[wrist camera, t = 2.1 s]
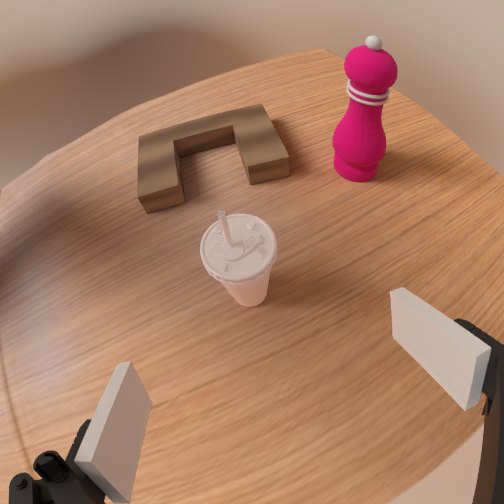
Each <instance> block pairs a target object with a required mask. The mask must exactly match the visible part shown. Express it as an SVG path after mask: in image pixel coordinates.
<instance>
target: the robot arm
mask: <svg viewBox="0 0 504 504" xmlns="http://www.w3.org/2000/svg"><path fill="white" fill-rule="evenodd" d="M390 298H391V313H392V333H393V338H394V339H395V340H396V341H397V342H398V343H399V344H400V345H401V346H402V347H403V348H404V349H405V350H406V351H407V352H408V353H409V354H410V355H411V356H412V357H413V358H414V359H415V360H416V361H417V362H418V363H419V364H420V365H421V366H422V367H423V368H424V369H425V370H426V371H427V372H428V373H429V374H430V375H431V376H432V377H433V378H434V379H435V381H436V382H437V383H438V384H439V385H440V386H441V387H442V388H443V389H444V390H445V391H446V392H447V393H448V394H449V395H450V396H451V397H452V398H453V399H454V400H455V401H456V402H457V403H458V404H459V405H460V406H461V408H462V409H463V410H464V411H466V410H468V409H470V408H471V407H473V406H474V405H476V404H477V403H479V400H480V397H481V393H482V392H483V393H484V394H485V395H486V396H487V399H486V402H485V405H484V409H483V412H482V415H484V414H485V421H484V434H483V444H482V452H481V460H480V467H479V474H478V479H477V484H476V489H475V494H474V499H473V503H472V504H504V345H503V344H501V343H500V342H498V341H497V340H495V339H494V338H492V337H491V336H490V335H488V334H487V333H485V332H484V331H483V332H482V330H481V329H479V328H478V327H477V328H476V326H475V325H473V324H472V323H470V322H469V321H466V320H462V319H459V318H458V319H456V320H454V321H453V320H452V319H450V318H449V317H447V316H446V315H444V314H443V313H441V312H440V311H438V310H437V309H435V308H434V307H432V306H431V305H429V304H428V303H426V302H425V301H423V300H422V299H420V298H419V297H417V296H416V295H414V294H413V293H411V292H410V291H408V290H407V289H405V288H404V287H401V288H398V289H395V290H392V291H390ZM151 406H152V401H151V399H150V397H149V395H148V393H147V392H146V390H145V388H144V386H143V384H142V382H141V380H140V378H139V376H138V374H137V372H136V370H135V368H134V366H133V364H132V362H131V361H129V362H124V363H118V364H117V366H116V368H115V370H114V372H113V375H112V377H111V379H110V381H109V383H108V385H107V387H106V389H105V391H104V394H103V396H102V398H101V400H100V402H99V404H98V407H97V409H96V411H95V413H94V415H93V418H92V419H89V420H86V421H85V423H84V424H83V425H82V426H81V427H80V429H79V431H78V433H77V437H76V438H75V440H74V444H72V446H71V449H70V451H69V453H68V456H67V458H66V460H65V461H64V460H63V458H62V457H61V456H60V455H59V454H58V453H57V452H56V451H46V452H43V453H42V454H40V455H39V456H38V457H37V458H36V459H35V462H34V464H33V469H34V470H35V471H36V472H37V473H38V474H39V475H40V476H41V478H42V479H40V480H34V479H33V478H32V477H31V476H30V475H29V474H28V473H20V474H17V475H16V476H14V477H13V479H12V480H11V482H10V486H9V504H106V503H105V502H104V499H105V495H106V496H107V497H108V498H109V499H110V500H111V501H113V502H116V503H130V500H131V495H132V490H133V485H134V480H135V475H136V470H137V466H138V461H139V457H140V452H141V448H142V444H143V439H144V435H145V431H146V427H147V422H148V418H149V414H150V410H151Z"/></svg>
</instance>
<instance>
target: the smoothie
mask: <svg viewBox="0 0 504 504" xmlns="http://www.w3.org/2000/svg"><path fill="white" fill-rule="evenodd" d="M217 215H218V219H219V220H217V221H216V222H214V223H213V224H212V225H211V226H210V227H209V228H208V229H207V230H206V232H205V233H204V235H203V237H202V240H201V243H200V255H201V259H202V261H203V264H204V267H205V268H206V270H207V271H208V273H209V274H210V275H211V276H212V277H214V278H215V279H216V280H218V281H220V282H221V283H222V284H223V286H224V287H225V288H226V289H227V291H228V292H229V293H230V294H231V295H232V297H233V298H234V299H235V300H236V301H237V302H238V303H239V304H240V305H242V306H245V307H254V306H257V305H259V304H260V303H261V302H263V300H264V299H265V297H266V295H267V289H268V283H269V277H270V271H271V268H272V266H273V264H274V262H275V260H276V256H277V251H278V248H277V241H276V237H275V234H274V232H273V230H272V228H271V227H270V226H269V225H268V223H266V222H265V221H264V220H262V219H261V218H259V217H257V216H254V215H250V214H232V215H228V216H226V215H225V211H223V210H220V211H218V212H217Z"/></svg>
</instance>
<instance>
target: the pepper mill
mask: <svg viewBox="0 0 504 504" xmlns="http://www.w3.org/2000/svg"><path fill="white" fill-rule="evenodd" d="M381 47H382V41H381V40H380V38H378V37H377V36H370V37H368V38H367V39H366V45H365V46H359V47H356V48H354V49H352V50H351V51H350V52H349V53H348V54H347V56H346V59H345V63H344V69H345V72H346V75H347V76H348V78H349V80H348V82H347V86H348V87H347V94H348V95H349V96H350V103H349V108H348V110H347V112H346V114H345V115H344V117H343V118H342V120H341V121H340V123H339V124H338V125H337V128H336V130H335V132H334V136H333V147H334V150H335V155H334V167H335V169H336V171H337V172H338V173H339V174H340V175H341V176H342V177H344V178H345V179H348V180H350V181H356V182H363V181H368V180H370V179H371V178H373V177H374V175H375V174H376V170H377V167H378V162H379V161H380V160H381V159H382V158H383V156H384V154H385V150H386V137H385V133H384V130H383V127H382V123H381V114H382V108H383V104H385V103H386V102H387V101H388V95H389V93H390V90H389V87H391V86H392V85H393V84H394V83H395V81H396V78H397V65H396V62H395V61H394V59H393V58H392V56H391V55H390V54H389V53H387V52H386V51H384V50H383V49H381Z"/></svg>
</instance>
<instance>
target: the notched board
mask: <svg viewBox="0 0 504 504" xmlns="http://www.w3.org/2000/svg"><path fill="white" fill-rule="evenodd" d="M232 143H236V144H237V147H238V150H239V153H240V156H241V159H242V162H243V165H244V167H245V170H246V173H247V176H248V179H249V182H250V185H252V184H256V183H260V182H265V181H269V180H273V179H277V178H281V177H286V176H290V157H289V155H288V153H287V151H286V149H285V147H284V145H283V143H282V141H281V139H280V137H279V135H278V133H277V131H276V130H275V128H274V126H273V124H272V122H271V120H270V118H269V116H268V114H267V113H266V111H265V109H264V107H263V105H262V104H259V105H254V106H249V107H244V108H240V109H235V110H231V111H227V112H223V113H218V114H214V115H210V116H207V117H203V118H199V119H195V120H192V121H188V122H185V123H181V124H178V125H174V126H171V127H168V128H164V129H161V130H158V131H155V132H152V133H149V134H146V135H143V136H140V137H139V147H138V199H139V200H140V202H141V204H142V205H143V207H144V209H145V211H146V212H147V214H148V213H151V212H154V211H157V210H161V209H164V208H168V207H171V206H174V205H178V204H181V203H185V197H184V190H183V183H182V175H181V168H180V160H179V158H180V157H183V156H187V155H190V154H194V153H197V152H201V151H205V150H208V149H212V148H216V147H220V146H224V145H228V144H232Z"/></svg>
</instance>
